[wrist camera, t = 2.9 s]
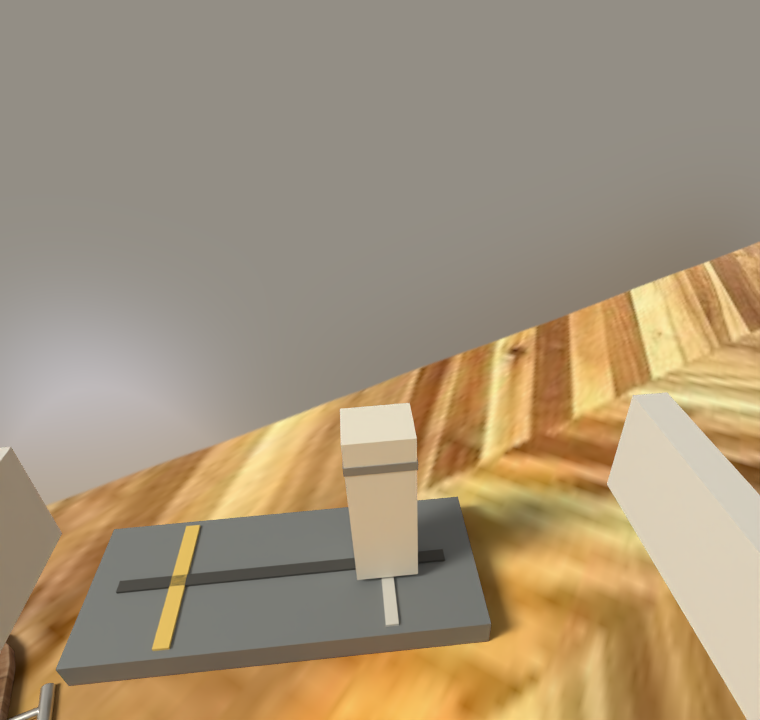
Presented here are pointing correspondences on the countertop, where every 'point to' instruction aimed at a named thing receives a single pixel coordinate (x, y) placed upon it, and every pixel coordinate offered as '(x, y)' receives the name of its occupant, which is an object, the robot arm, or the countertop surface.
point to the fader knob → (381, 488)
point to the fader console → (268, 596)
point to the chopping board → (3, 673)
